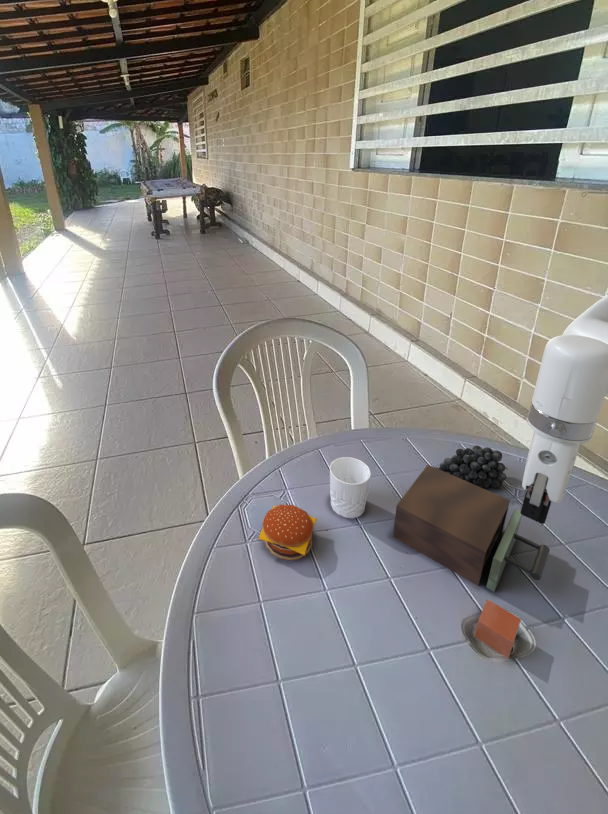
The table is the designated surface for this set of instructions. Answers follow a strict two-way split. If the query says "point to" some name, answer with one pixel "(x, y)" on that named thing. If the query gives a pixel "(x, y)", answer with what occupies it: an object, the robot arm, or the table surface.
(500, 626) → the block
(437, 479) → the cabinet
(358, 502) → the white cup
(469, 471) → the fruit
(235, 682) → the table surface
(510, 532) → the drawer
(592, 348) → the robot arm
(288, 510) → the hamburger
